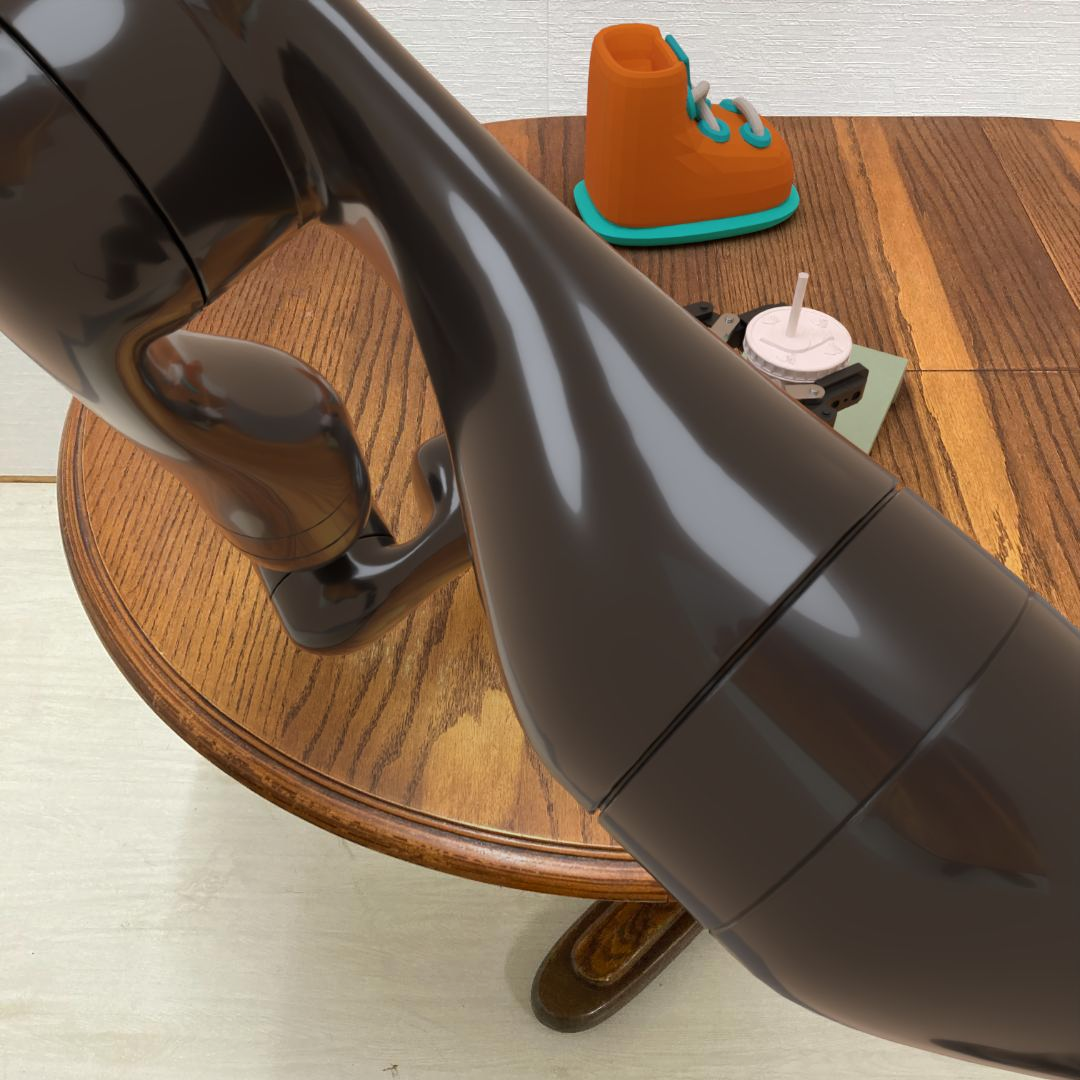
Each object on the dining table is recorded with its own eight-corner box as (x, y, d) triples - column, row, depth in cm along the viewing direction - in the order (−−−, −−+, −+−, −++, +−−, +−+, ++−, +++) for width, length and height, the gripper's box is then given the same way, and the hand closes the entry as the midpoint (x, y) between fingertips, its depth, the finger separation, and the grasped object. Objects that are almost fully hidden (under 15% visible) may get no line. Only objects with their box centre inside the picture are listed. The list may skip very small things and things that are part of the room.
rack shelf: (828, 553, 71) (838, 521, 69) (669, 498, 75) (673, 466, 72) (899, 391, 82) (909, 359, 80) (757, 349, 85) (763, 317, 83)
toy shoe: (815, 232, 96) (851, 61, 85) (597, 261, 93) (605, 88, 82) (764, 163, 104) (792, -2, 93) (562, 188, 101) (565, 20, 90)
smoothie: (713, 425, 75) (744, 246, 65) (806, 419, 75) (851, 240, 65) (735, 492, 71) (772, 311, 60) (833, 485, 71) (886, 305, 61)
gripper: (677, 469, 55) (923, 361, 61) (530, 318, 64) (759, 236, 69) (663, 567, 61) (890, 460, 67) (530, 417, 69) (742, 333, 75)
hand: (823, 346), depth 68 cm, fingers closed on smoothie, 6 cm apart
